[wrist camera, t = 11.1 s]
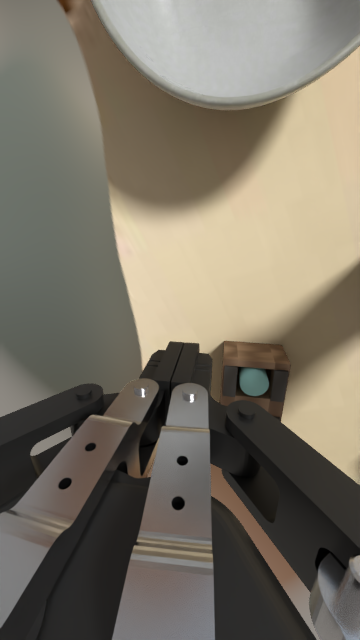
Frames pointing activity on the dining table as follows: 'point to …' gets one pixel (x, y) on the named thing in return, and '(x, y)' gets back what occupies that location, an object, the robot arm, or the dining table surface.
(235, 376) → the socket block
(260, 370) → the peg
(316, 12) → the decorative bowl
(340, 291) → the dining table surface
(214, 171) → the dining table surface
